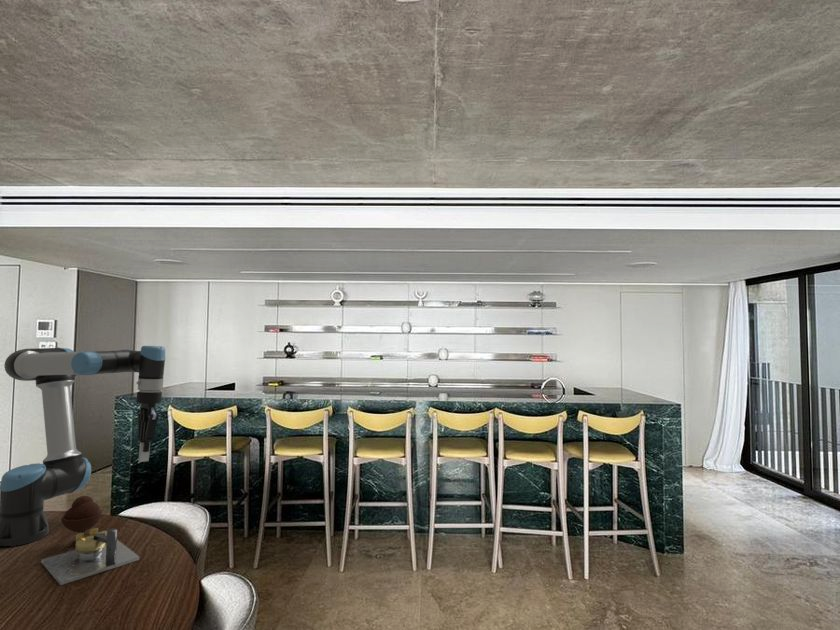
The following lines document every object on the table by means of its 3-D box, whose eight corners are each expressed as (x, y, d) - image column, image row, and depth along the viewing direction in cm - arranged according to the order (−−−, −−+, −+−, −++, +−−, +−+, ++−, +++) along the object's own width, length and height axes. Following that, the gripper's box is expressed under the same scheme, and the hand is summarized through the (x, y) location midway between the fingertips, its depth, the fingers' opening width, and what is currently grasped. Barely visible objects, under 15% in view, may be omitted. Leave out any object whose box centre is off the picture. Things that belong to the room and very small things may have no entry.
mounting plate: (41, 562, 145) (42, 549, 145) (115, 541, 160) (116, 529, 160) (60, 585, 132) (61, 570, 132) (139, 559, 147) (139, 546, 148)
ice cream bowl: (51, 548, 154) (54, 501, 155) (83, 534, 165) (85, 490, 166) (78, 552, 152) (80, 504, 152) (108, 538, 163) (110, 493, 163)
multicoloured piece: (68, 559, 144) (70, 527, 145) (96, 549, 151) (97, 518, 152) (99, 570, 138) (101, 536, 138) (126, 558, 145) (128, 526, 146)
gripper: (131, 389, 165) (124, 458, 163) (144, 393, 156) (138, 466, 155) (154, 388, 171) (148, 456, 169) (168, 392, 162) (162, 463, 160)
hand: (143, 461), depth 162 cm, fingers closed
